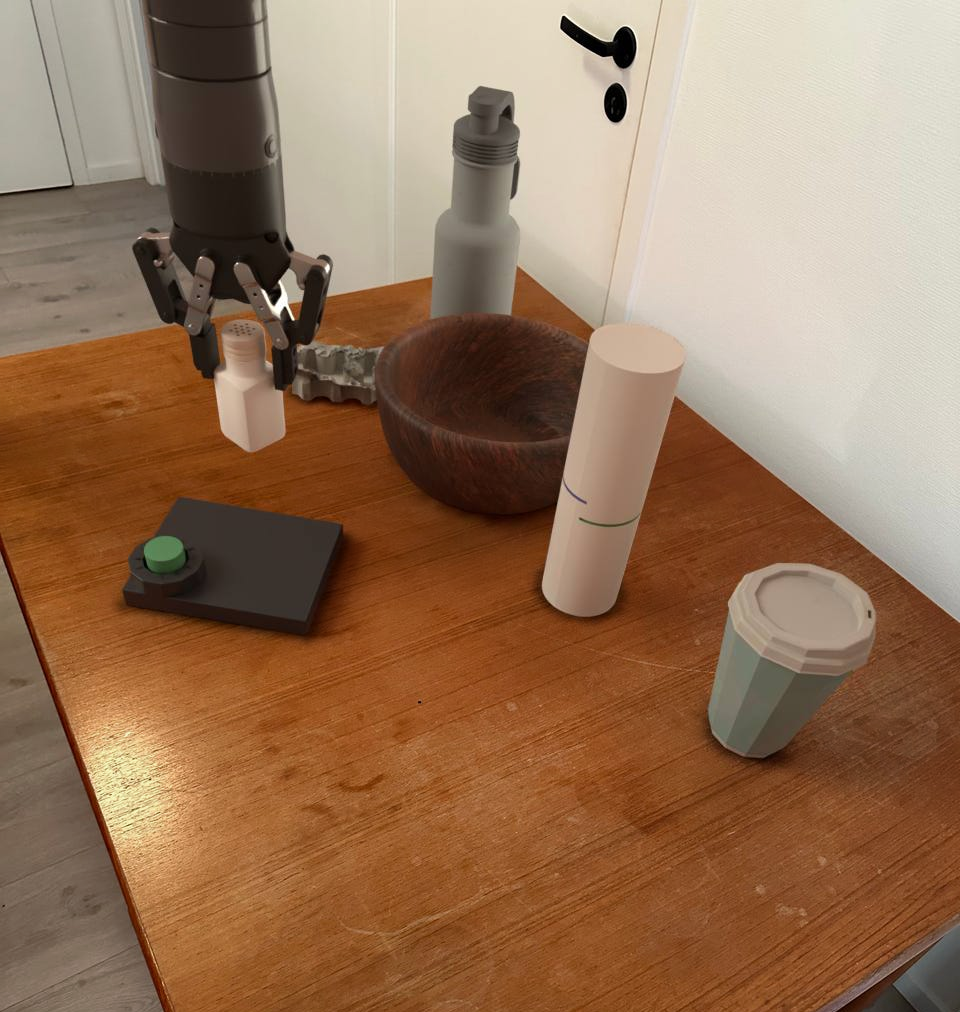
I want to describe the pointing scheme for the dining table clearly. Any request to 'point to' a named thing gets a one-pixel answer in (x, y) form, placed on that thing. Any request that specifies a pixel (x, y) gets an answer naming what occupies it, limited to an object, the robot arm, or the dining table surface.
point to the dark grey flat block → (239, 566)
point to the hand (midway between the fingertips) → (247, 378)
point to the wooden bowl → (481, 408)
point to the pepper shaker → (248, 388)
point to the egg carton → (336, 372)
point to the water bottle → (479, 212)
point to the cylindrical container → (610, 463)
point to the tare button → (164, 555)
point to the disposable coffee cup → (786, 653)
